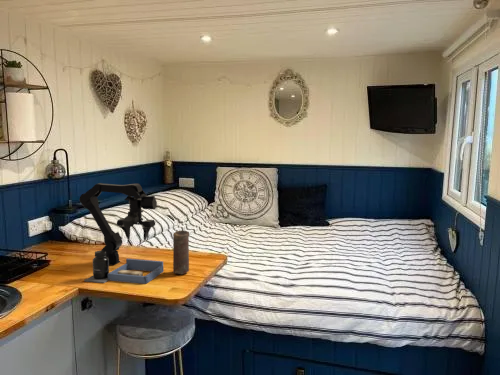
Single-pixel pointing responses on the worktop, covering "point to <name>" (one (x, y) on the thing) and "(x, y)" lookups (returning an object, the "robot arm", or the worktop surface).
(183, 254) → the candle
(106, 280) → the mat
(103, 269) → the supplement bottle
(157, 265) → the blue-grey rectangular tray
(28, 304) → the worktop surface
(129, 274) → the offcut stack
